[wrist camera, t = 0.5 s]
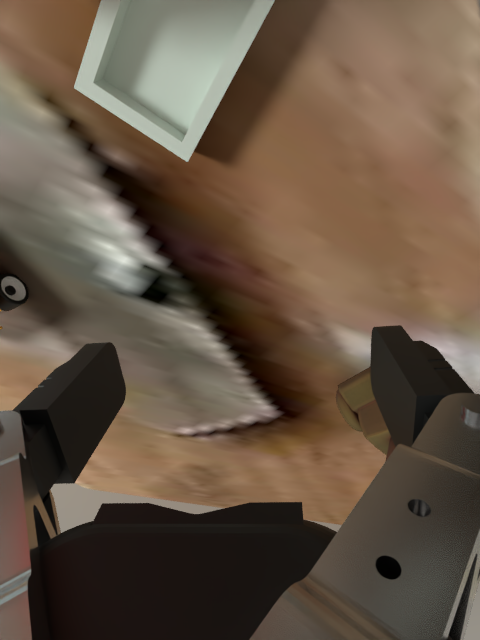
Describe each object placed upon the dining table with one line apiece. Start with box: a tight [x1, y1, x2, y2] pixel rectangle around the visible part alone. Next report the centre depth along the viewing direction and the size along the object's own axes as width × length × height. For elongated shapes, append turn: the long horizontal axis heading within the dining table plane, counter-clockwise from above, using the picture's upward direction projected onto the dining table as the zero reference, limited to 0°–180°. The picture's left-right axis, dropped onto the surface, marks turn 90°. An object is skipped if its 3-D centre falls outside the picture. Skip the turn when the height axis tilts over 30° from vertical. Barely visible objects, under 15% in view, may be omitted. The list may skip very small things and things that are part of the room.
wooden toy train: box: [336, 367, 396, 461], centre depth 51 cm, size 20×11×17 cm, turn 46°
